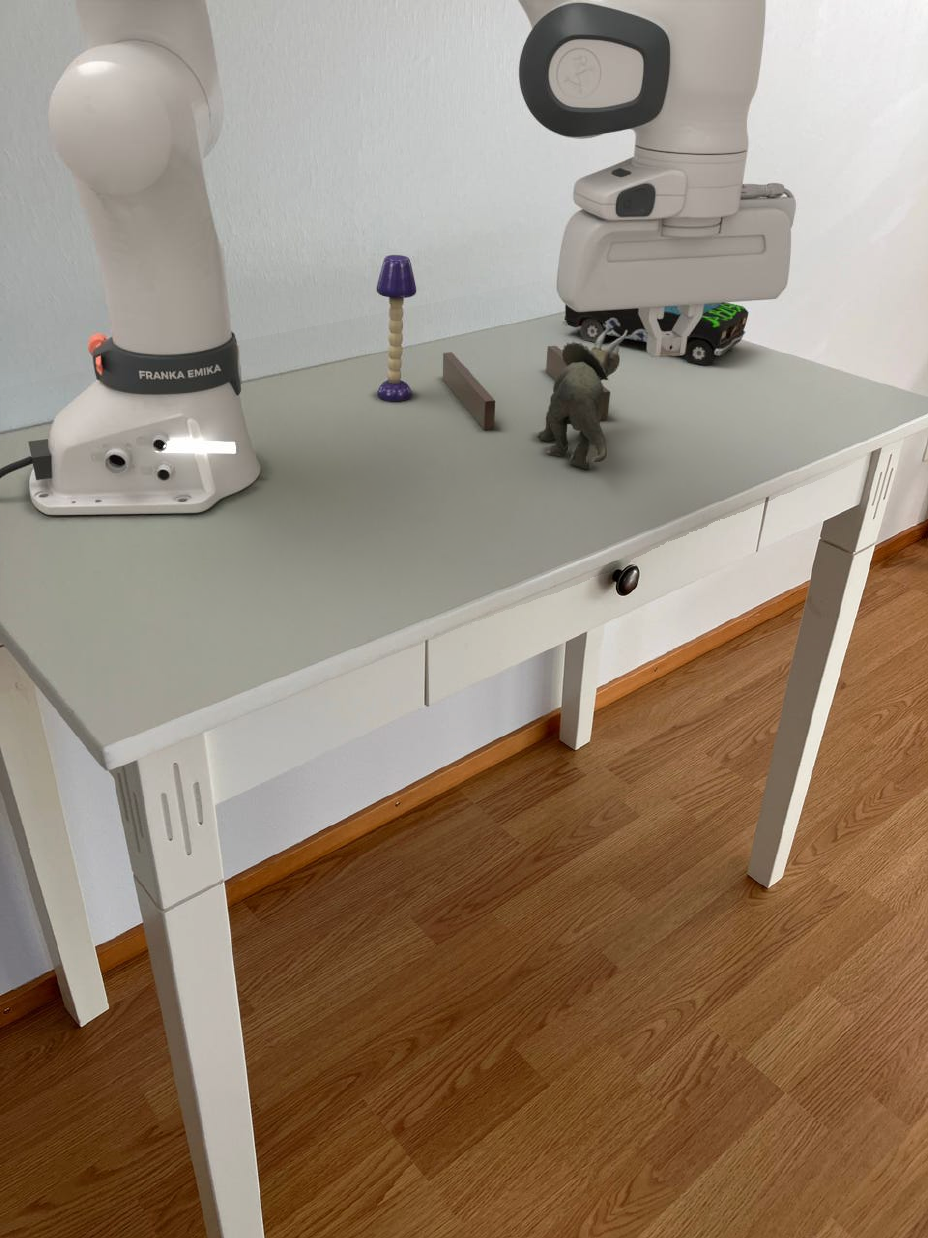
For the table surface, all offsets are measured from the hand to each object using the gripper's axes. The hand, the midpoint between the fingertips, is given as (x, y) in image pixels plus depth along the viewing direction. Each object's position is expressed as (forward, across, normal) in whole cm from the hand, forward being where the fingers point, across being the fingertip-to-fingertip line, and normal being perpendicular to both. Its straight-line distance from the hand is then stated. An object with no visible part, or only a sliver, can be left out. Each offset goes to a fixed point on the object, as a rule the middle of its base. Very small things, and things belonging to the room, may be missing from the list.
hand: (665, 354), depth 90 cm
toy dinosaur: (+17, 0, -18) cm, 25 cm away
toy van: (+17, -26, -53) cm, 61 cm away
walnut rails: (+16, 0, -35) cm, 39 cm away
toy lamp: (+16, +15, -39) cm, 45 cm away
